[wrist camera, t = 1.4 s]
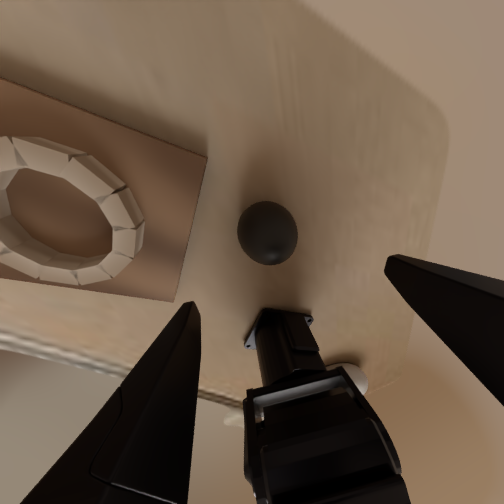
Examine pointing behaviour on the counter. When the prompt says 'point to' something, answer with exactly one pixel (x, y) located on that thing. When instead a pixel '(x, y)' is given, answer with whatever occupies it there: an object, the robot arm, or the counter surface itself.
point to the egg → (267, 233)
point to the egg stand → (91, 199)
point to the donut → (354, 375)
